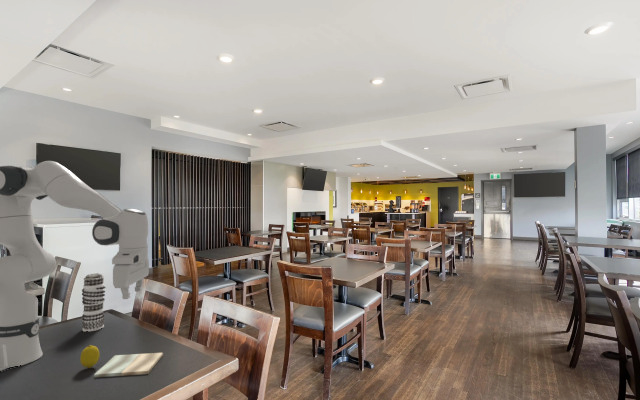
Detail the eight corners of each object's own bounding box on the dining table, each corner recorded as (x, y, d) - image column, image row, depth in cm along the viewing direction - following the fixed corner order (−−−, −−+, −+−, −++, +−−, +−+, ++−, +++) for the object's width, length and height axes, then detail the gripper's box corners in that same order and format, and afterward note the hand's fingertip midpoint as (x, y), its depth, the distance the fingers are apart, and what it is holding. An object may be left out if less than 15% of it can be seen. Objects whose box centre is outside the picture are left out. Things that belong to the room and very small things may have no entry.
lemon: (89, 372, 112) (89, 349, 112) (76, 371, 113) (76, 347, 113) (103, 365, 117) (103, 342, 117) (90, 363, 118) (90, 341, 118)
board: (94, 377, 108) (94, 374, 109) (115, 358, 122) (115, 355, 122) (148, 373, 111) (148, 370, 111) (162, 355, 125) (162, 352, 125)
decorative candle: (103, 323, 159) (104, 271, 160) (106, 328, 152) (106, 274, 153) (80, 327, 154) (81, 274, 154) (82, 333, 146) (82, 277, 147)
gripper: (136, 251, 125) (135, 287, 125) (109, 260, 104) (107, 303, 104) (153, 251, 126) (153, 287, 125) (130, 260, 105) (129, 303, 105)
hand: (132, 294), depth 115 cm, fingers open, 8 cm apart
